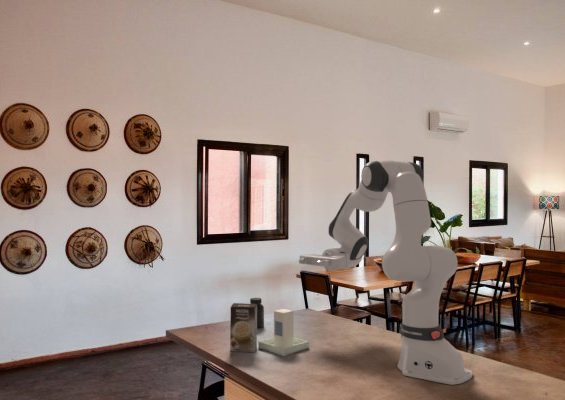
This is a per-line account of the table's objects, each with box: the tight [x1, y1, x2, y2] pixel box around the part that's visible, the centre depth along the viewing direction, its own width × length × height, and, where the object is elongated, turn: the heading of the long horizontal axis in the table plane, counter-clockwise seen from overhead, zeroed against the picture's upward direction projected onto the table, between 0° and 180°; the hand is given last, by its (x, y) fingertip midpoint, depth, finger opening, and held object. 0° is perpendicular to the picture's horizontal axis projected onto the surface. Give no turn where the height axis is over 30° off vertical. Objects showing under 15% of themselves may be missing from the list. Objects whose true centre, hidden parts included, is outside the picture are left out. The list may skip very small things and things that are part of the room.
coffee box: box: [229, 302, 258, 353], centre depth 176 cm, size 9×6×16 cm
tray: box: [257, 336, 310, 357], centre depth 177 cm, size 13×13×2 cm
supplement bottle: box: [249, 297, 265, 329], centre depth 208 cm, size 7×7×12 cm
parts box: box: [273, 308, 294, 348], centre depth 177 cm, size 5×5×13 cm
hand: (309, 262), depth 187 cm, fingers open, 8 cm apart
